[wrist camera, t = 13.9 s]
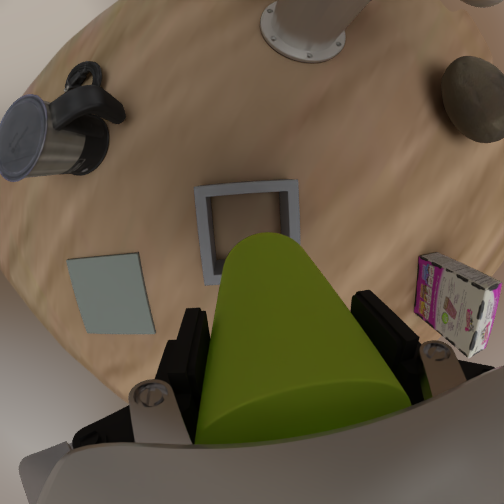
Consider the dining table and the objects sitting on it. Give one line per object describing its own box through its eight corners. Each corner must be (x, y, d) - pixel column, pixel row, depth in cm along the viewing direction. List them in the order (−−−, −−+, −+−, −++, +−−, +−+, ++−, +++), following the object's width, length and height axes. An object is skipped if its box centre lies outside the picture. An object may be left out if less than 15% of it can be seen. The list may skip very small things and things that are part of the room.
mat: (68, 259, 35) (66, 260, 35) (138, 252, 36) (137, 253, 35) (88, 331, 39) (87, 333, 38) (155, 332, 40) (155, 334, 39)
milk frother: (79, 189, 33) (12, 200, 19) (35, 123, 29) (-26, 114, 15) (147, 118, 31) (98, 87, 17) (94, 57, 27) (44, 19, 13)
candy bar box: (432, 305, 43) (486, 349, 27) (412, 312, 42) (466, 360, 27) (437, 249, 39) (504, 282, 24) (417, 254, 39) (485, 291, 24)
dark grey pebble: (469, 87, 31) (522, 76, 17) (472, 152, 35) (532, 155, 21) (418, 58, 30) (474, 32, 16) (422, 129, 34) (489, 121, 19)
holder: (200, 185, 34) (193, 187, 29) (287, 179, 35) (297, 179, 29) (218, 338, 41) (216, 361, 35) (291, 331, 41) (299, 353, 35)
